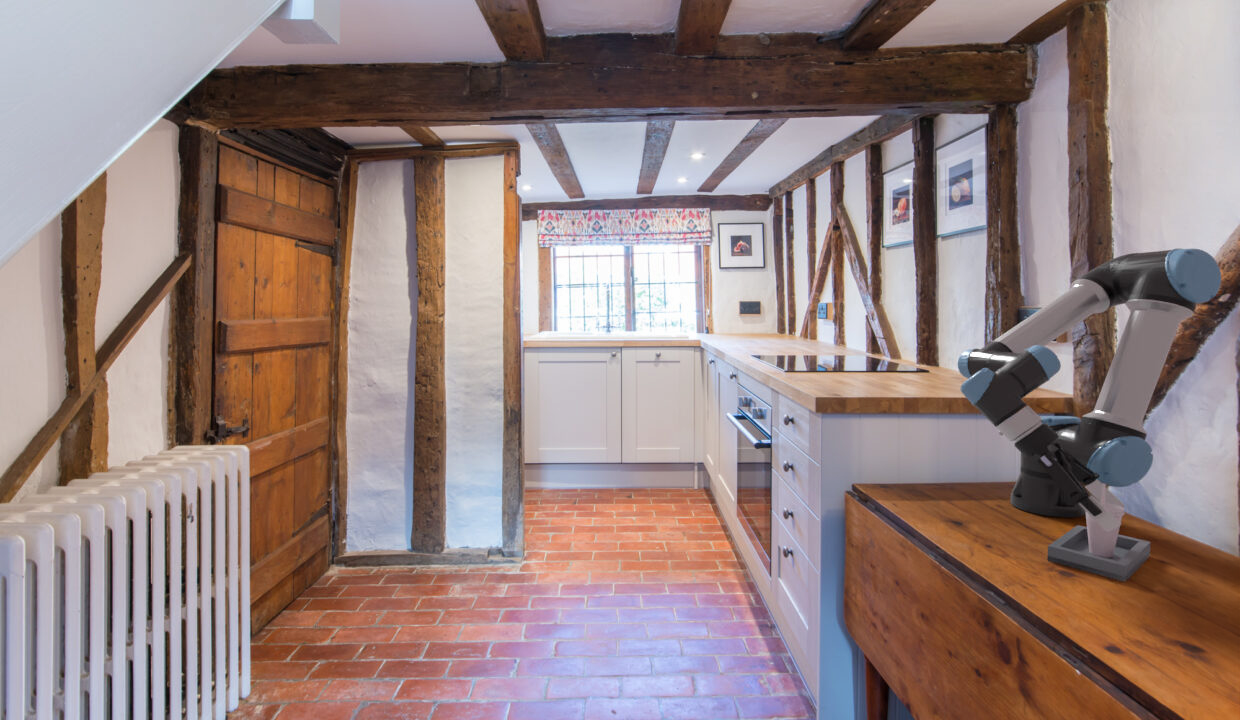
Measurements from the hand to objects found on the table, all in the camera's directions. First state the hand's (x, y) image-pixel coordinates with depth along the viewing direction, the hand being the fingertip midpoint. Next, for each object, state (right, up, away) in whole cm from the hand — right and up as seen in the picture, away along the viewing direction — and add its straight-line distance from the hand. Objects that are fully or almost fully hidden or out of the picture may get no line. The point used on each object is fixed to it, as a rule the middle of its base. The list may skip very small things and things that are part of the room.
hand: (1116, 518), depth 116 cm
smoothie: (-1, -8, +2) cm, 8 cm away
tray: (-2, -9, +2) cm, 9 cm away
